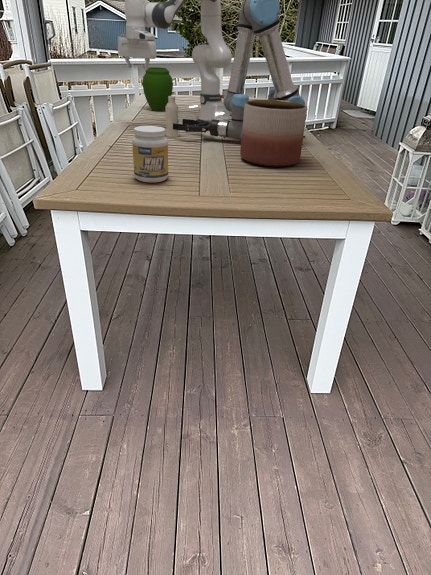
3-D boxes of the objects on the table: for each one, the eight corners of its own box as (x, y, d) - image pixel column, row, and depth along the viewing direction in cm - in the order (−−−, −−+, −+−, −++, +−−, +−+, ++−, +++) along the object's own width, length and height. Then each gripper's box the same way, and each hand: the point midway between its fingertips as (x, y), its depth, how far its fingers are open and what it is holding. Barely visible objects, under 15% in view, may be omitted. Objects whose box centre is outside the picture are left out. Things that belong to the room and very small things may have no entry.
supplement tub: (139, 184, 140) (136, 133, 131) (130, 174, 149) (127, 125, 140) (173, 181, 144) (172, 131, 135) (162, 172, 153) (161, 124, 144)
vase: (143, 107, 275) (142, 66, 262) (173, 108, 277) (172, 67, 264) (142, 112, 259) (140, 68, 246) (173, 113, 261) (173, 70, 248)
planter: (308, 168, 166) (317, 110, 154) (247, 168, 162) (252, 108, 150) (288, 152, 187) (295, 100, 175) (234, 152, 183) (238, 98, 171)
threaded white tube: (163, 136, 205) (162, 96, 195) (170, 134, 210) (169, 95, 200) (174, 137, 203) (173, 97, 193) (180, 135, 208) (180, 96, 198)
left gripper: (113, 33, 190) (116, 67, 198) (149, 35, 183) (151, 70, 190) (122, 33, 195) (124, 66, 202) (158, 36, 187) (158, 69, 195)
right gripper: (211, 141, 190) (168, 136, 194) (225, 131, 210) (186, 127, 215) (212, 124, 186) (168, 120, 190) (226, 116, 206) (186, 112, 211)
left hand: (137, 68), depth 196 cm, fingers open, 8 cm apart
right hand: (177, 123), depth 203 cm, fingers open, 13 cm apart
